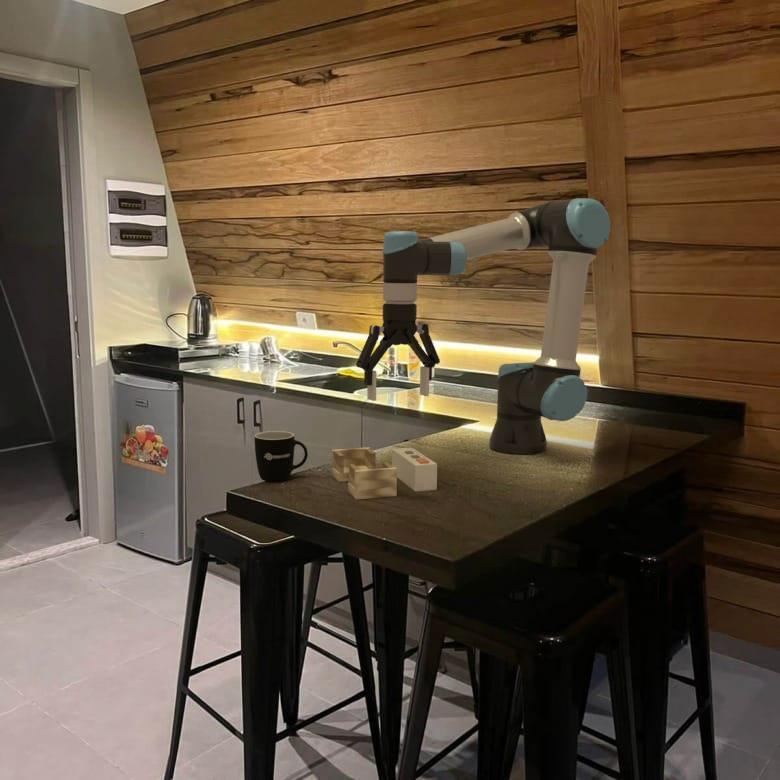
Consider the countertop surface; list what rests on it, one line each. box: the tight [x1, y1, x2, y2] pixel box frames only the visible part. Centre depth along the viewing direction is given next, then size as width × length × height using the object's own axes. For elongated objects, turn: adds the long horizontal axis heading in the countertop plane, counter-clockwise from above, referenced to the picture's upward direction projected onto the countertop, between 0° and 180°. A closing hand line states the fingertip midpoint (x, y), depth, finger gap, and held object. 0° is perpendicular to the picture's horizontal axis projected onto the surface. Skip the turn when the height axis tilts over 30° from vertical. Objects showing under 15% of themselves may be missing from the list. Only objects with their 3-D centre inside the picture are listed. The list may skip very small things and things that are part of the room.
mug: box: [254, 430, 309, 483], centre depth 181 cm, size 12×9×10 cm
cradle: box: [331, 446, 398, 501], centre depth 176 cm, size 9×20×6 cm, turn 19°
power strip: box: [391, 447, 438, 492], centre depth 180 cm, size 5×16×6 cm, turn 18°
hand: (398, 397), depth 179 cm, fingers open, 13 cm apart
